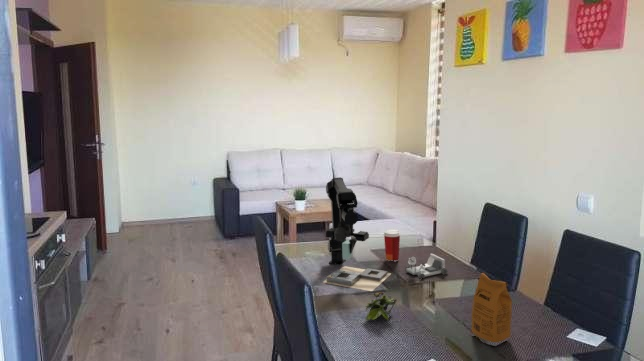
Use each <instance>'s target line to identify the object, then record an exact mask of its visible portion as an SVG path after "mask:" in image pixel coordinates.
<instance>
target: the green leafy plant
mask: <svg viewBox="0 0 644 361" xmlns="http://www.w3.org/2000/svg"><path fill="white" fill-rule="evenodd" d="M373 295H374V298H372V299H370V300H369V302H367V304H366V305H365V311H367V310H369V311H368V314H367V315H366V322H367V321H370V320H372V321H374V320H376V319H378V318H379V317H380V316H381V315H382V316H383V318H384V319H385V320H386V322H387V323H388V321H389V317H390V314H391V311H392V309H393V308H394V306H395V305H396V302H397V298H395V297H393V298H392V296H390V295H387V294H385V292H376V293H373ZM389 306H391V308H390V309H389V310H388V311H387V309H388V307H389Z"/></svg>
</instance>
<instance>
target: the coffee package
mask: <svg viewBox="0 0 644 361" xmlns="http://www.w3.org/2000/svg"><path fill="white" fill-rule="evenodd" d="M508 286H509V284H508V282H505V281H500V280H495V279H491V278H489V277H488V276H487V275H486V274H485V273H484V272H482V273H480V276H479V279H478V282H477V286H476V288H475V292H474V295H473V302H472V309H471V333H472V332H473V334H475V335H477V336H478V337H479V338H482V339H485V340H487V341H491V342H499V341H503V340H505V339H506V338H508V337H510V338H511V332H512V331H511V324H512V314H513V313H512V308H513V301H512V298H511V296H510V293H509V291H508V288H507V287H508Z"/></svg>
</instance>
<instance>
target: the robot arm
mask: <svg viewBox="0 0 644 361" xmlns="http://www.w3.org/2000/svg"><path fill="white" fill-rule="evenodd" d="M325 192H326V194H327V197H328V199H329V200H330V208H331V225H332V226H331V227H330V228H329V229H327V230H326V231H325V234H324V235H325V238H329V240H328V242H327V251H328V252H329V253H331V256H330V257H331V260H330V261H328V263H329V264H333V265H342V264H344V263H346V261H347V259H343V255H342V243H343V242H345V241H347V238H350V239H349V240H348V241H349V242H350V254H351V253H352V254H353V251H354V248H355V246H356V243H357V242H365V241H367V240H368V239H370V234H369V232H368V231H363V230H360V231H358V232H355V228H354V225H355V224H357V223H358V221H359V216H358V214H357V213H356V212H355V210H354V209H355V208H357V207H358V200H357V196H356V194H355V192H354V191H353V190H352V188H348V187H347V186H346V183H345V181H344V177H333V178H331V180H330V181H328V182H326V185H325Z"/></svg>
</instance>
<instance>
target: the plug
mask: <svg viewBox="0 0 644 361" xmlns="http://www.w3.org/2000/svg"><path fill="white" fill-rule="evenodd" d="M342 255H343V259H344V260H350V259H351V258H353V252H352V253H351V254H350V242H349V240H346V241H345V242H343V243H342Z"/></svg>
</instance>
